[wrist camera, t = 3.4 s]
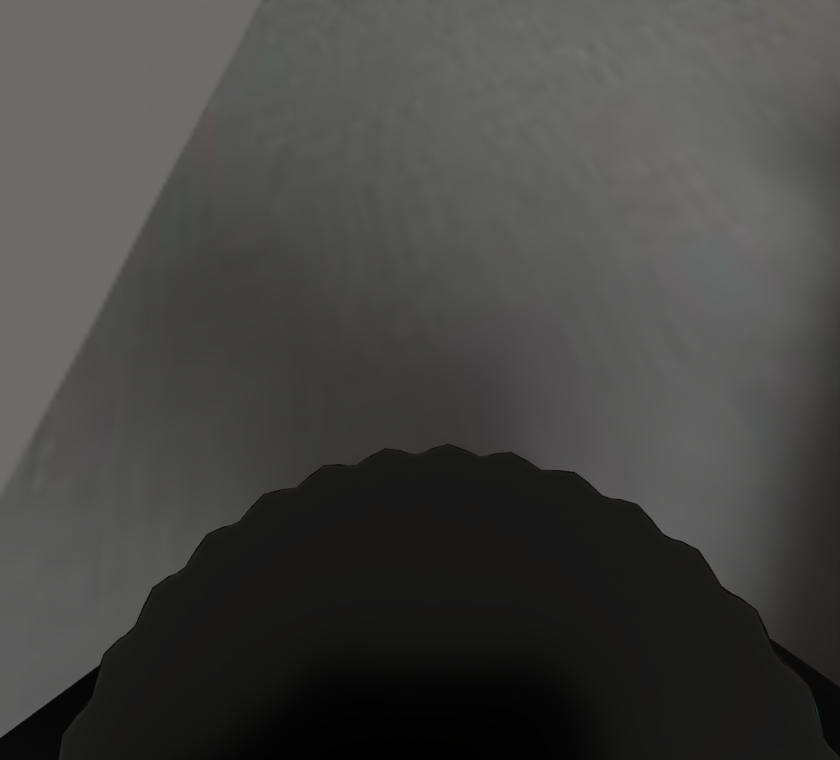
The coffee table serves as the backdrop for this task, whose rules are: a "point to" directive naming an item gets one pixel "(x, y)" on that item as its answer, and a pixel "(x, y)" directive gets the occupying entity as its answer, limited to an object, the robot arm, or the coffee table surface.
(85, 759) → the supplement bottle
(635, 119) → the coffee table surface
